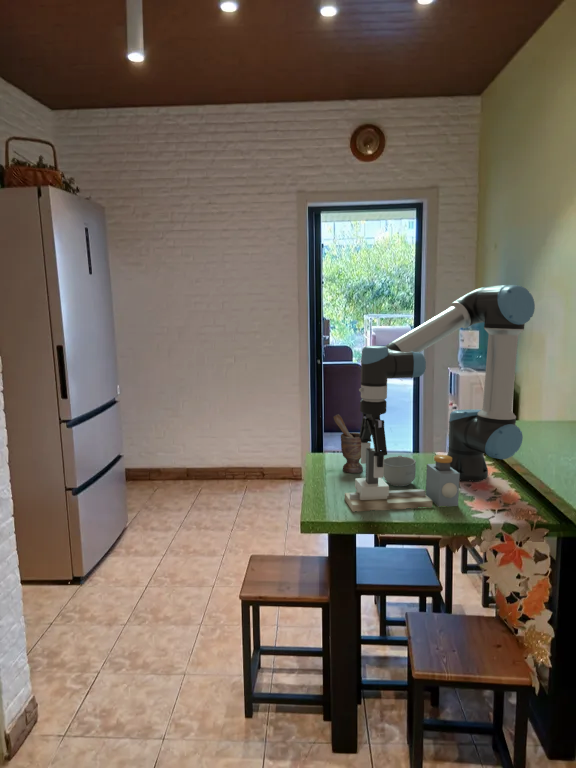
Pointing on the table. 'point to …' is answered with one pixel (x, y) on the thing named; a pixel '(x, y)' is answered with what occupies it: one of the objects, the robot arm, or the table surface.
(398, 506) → the rail board
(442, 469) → the button
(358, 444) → the mortar and pestle
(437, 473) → the blue-grey button box
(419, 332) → the robot arm
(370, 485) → the carriage
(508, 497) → the table surface
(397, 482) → the teacup
